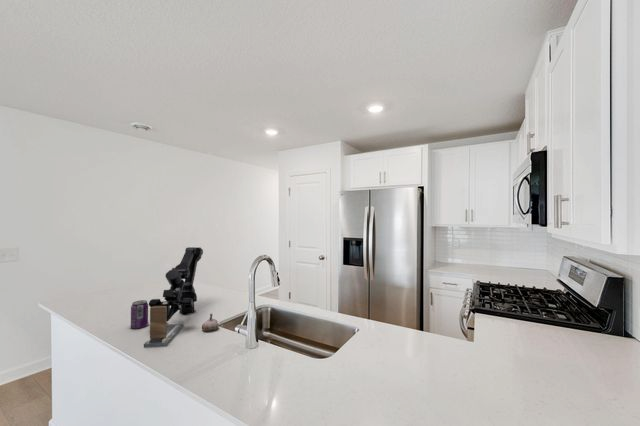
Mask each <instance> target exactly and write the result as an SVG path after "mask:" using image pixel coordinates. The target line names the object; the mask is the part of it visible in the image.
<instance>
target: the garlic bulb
mask: <svg viewBox="0 0 640 426" xmlns="http://www.w3.org/2000/svg"><path fill="white" fill-rule="evenodd" d="M219 327H220V324H219V322H218V320H217V319H215V318H213V313H211V312H210V314H209V319H208V320H206V321H204V322H203V323H202V325H201V329H202V331H204V332H210V331H215V330H217V329H219Z"/></svg>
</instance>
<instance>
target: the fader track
mask: <svg viewBox="0 0 640 426" xmlns="http://www.w3.org/2000/svg"><path fill="white" fill-rule="evenodd" d="M184 326H185V324H184V323H182V321H178V323H169V321H167V335H166V337H165V338H164V339H163V340H162V342H154V343H151V339H150V337H149V338H148V339H147V340H146V341H145V342H144V343H143V348H156V347H157V348H159V347H168V346H169V344H170V343H172V341H173V340H174V339H175V337H176V336H177V335H178V334H179V332H181V330H182V329H183V328H184Z"/></svg>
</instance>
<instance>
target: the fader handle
mask: <svg viewBox="0 0 640 426" xmlns="http://www.w3.org/2000/svg"><path fill="white" fill-rule="evenodd" d="M167 322H168V321H167V306H156V307H150V308H149V338H150V339H151V343H154V342H162V340H163V339H164V338H165V337H166V335H167Z"/></svg>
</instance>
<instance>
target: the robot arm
mask: <svg viewBox="0 0 640 426" xmlns="http://www.w3.org/2000/svg"><path fill="white" fill-rule="evenodd" d="M184 251H185V252H184V254H183V256H182V258H181V261H180V262H179V264H177V265H176V266H175V267H172V268H171V269H170V270H168V271H167V272H166V273H165V279H166V280H167V282H168V284H169V285H170V288H169V289H164V290H163V292H162V298H164V300H163V301H161V299H160V298H152V299H150V300H149V301H148V307H150V308H151V307H156V306H167V322H169V321H170V320H171V319H172V317H173V316H174V315H175V314H177V312H178V311H179V314H180V315H184V316H187V315H190V314H193V313H196V310H195V302H198V296H197V293H196V289H195V287H194V281H195V276H196V271H197V267H198V266H197V265H198V262H199V261H201V259H202V256H203V254H204V250H203V248H202V247H198V246H197V247H195V246H193V247H189V246H188V247H185V250H184Z"/></svg>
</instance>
